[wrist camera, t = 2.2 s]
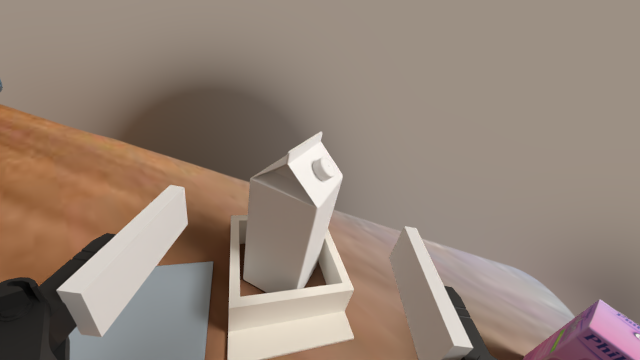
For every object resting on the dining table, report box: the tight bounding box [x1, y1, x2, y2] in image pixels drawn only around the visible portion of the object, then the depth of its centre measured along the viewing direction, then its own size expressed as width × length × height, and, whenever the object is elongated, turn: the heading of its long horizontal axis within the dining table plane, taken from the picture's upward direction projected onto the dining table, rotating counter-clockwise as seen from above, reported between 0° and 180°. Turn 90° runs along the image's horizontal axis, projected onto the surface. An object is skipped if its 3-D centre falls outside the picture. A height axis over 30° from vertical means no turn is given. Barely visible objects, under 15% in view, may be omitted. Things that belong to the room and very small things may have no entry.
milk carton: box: [243, 132, 342, 293], centre depth 27 cm, size 7×7×19 cm
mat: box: [69, 261, 213, 360], centre depth 24 cm, size 13×13×1 cm
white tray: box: [227, 215, 354, 360], centre depth 31 cm, size 19×13×4 cm
